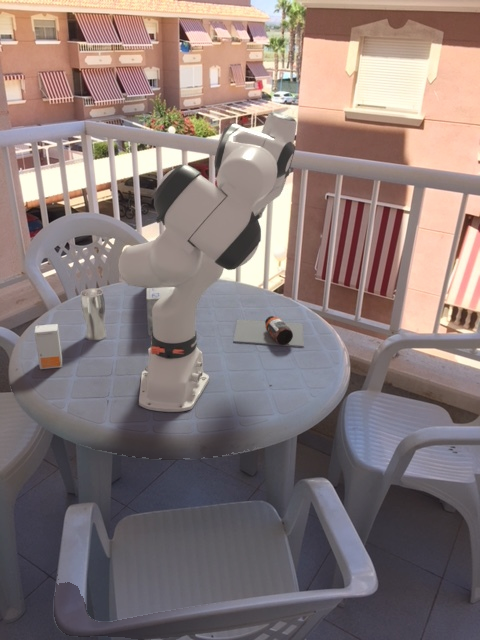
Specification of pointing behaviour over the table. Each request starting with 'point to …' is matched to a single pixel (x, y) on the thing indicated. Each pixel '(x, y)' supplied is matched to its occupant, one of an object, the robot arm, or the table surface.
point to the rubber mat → (265, 333)
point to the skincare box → (48, 346)
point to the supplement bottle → (278, 330)
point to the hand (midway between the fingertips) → (256, 218)
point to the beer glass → (94, 313)
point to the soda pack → (152, 298)
